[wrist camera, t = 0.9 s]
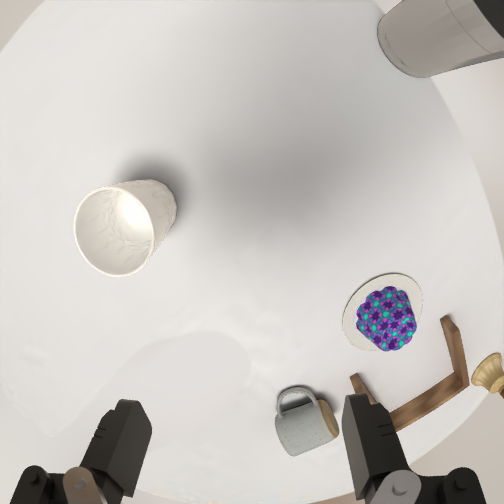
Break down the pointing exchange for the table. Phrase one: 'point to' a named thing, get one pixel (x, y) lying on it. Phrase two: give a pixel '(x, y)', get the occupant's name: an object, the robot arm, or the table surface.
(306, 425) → the ceramic mug
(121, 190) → the white cup
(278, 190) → the table surface
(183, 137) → the table surface
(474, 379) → the hand bell
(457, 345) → the corral
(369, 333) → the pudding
